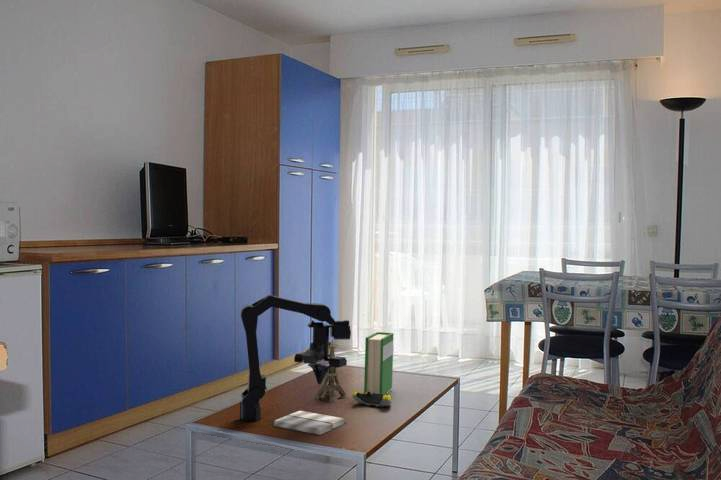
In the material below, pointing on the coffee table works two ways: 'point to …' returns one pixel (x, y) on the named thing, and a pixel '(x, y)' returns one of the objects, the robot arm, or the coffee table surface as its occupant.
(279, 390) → the coffee table surface
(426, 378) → the coffee table surface
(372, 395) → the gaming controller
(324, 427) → the plank
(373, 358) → the hardback book
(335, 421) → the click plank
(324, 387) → the eiffel tower
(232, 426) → the coffee table surface
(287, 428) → the underlay mat
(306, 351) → the robot arm
